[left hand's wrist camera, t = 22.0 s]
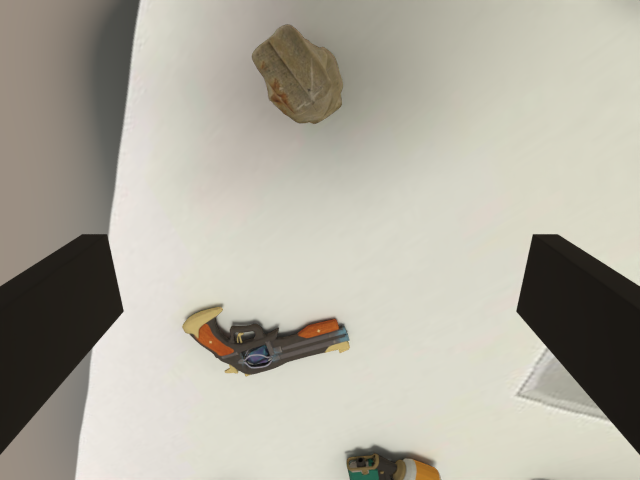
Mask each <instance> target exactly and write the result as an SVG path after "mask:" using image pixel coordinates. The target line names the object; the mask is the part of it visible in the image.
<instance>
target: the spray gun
mask: <svg viewBox="0 0 640 480" xmlns="http://www.w3.org/2000/svg"><path fill="white" fill-rule="evenodd" d="M374 457H375V458H374ZM372 458H374V460H371V459H372ZM367 459H368V461H367ZM350 460H356V462H351V463H350V464H349V461H350ZM347 468H348V472H349V477H350V480H393V479H394V480H441V477H440V474H439V472H438V470H437V469H436V468H435V467H432V466H429V465H427V464H424V463H422V462H419V461H416V460H414V459H406V458H405V459H404V460H398V461H396V462H395V463H394V462H392V461H390V460H387V459H385V458H383V457H381V456H378V454H375V453H374V454H373V455H371V456H358V457H349V458H348V459H347ZM392 474H393V479H392V478H391V476H390V475H392Z"/></svg>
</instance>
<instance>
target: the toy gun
mask: <svg viewBox="0 0 640 480" xmlns="http://www.w3.org/2000/svg"><path fill="white" fill-rule="evenodd" d="M222 310H223V309H222V308H221V307H215V308H211V309H207V310H203V311H200V312H198V313H196V314H194V315H192V316H190V317H189V318H188V319H187V320H186V321H185V323H184V324H183V326H182V327H183V330H184V331H185V333H188V334H190V335H191V336H192V337H193V338H194V339H195V340H196V341H197V342H198V343H199V344H200V345H202V346H203V347H205V348H206V349H207V350H209V351H210V352H212V353H213V354H214V355H215V357H216V358H219V359H220V360H221V361H222V362H225V363H227V364H229V366H230V368H229V369H227V370H225V373H238V371H241V372H243V373H245V376H249V375H252V374H256V373H260V372H264V371H267V370H270V369H274V368H276V367H278V366H280V365H283V364H285V363H287V362H289V361H293V360H297V359H300V358H304V357H308V356H312V355H316V354H320V353H326V352H330V351H334V350H338V349H339V352H340V353H342V352H344V351H346V350H348V349H349V348H350V346H349V342H348V341H349V337H348V333H346V329H345V326H344V327H342V326H338V322H337V320H336V319H332V320H328V321H324V322H320V323H316V324H311V325H308V326H307V327H305V328H304V329H303V330H301V331H300V332H298V333H297V334H294V335H290V336H286V337H277V334H278V331H279V328H277V329H275V330H274V331H272V332H270V333H267V334H264V333H263V330H262V328H261V326H259V325H258V324H252V325H248V326H232V327H231V328H230V334H231V337H230V338H227V337H226V336H225V335H224V334H223V333H222V332H221V331H220V330H219V329H218V327H217V325H216V320H215V317H216V316H217V315H218V314H219V313H221V312H222ZM250 331H254V332H255V337H254V338H251V339H247V340H243V341H242V339H241V335H243V334H244V333H243V332H250ZM236 332H239V333H238V336H239V339H240V341H238V336H237V341H236V340H235V337H234V333H236ZM265 344H266V346H267V347H266V346H265ZM253 348H255V349H254V350H253V351H251V352H250V353H249V354H248V356H247V357H246V355H247V353H248V351H249V350H250V349H253ZM246 350H247V352H246V354H244V351H246ZM270 357H272V358H273V359H272V360H270V361H268V359H269V358H270ZM247 361H248V362H251V363H253V365H252V364H248V362H247ZM258 363H260V364H258Z"/></svg>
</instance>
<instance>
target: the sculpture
mask: <svg viewBox="0 0 640 480" xmlns="http://www.w3.org/2000/svg"><path fill="white" fill-rule="evenodd" d="M252 59H253V62H254V64H255V65H256V67H257V69H258V70H259V72H260V73H261V74H262V76H263V77H264V79H265V82H266V86H267V90H268V97H269V100H270V101H272V103H273V104H274V105H275V106H277V107H278V108H279V109H280V110H281V111H282V112H283V113H284V114H285V115H287V116H289V117H290V118H291V119H293V120H294V121H295V122H297V123H308V122H310V123H312V124H316V123H318V122H320V121H322V120H323V119H325V118H327V117H328V116H330V115H331V114H332V113H334V112H335V111H336V110H338V109H339V108H340V107H341V105H342V100H341V91H342V88H343V82H342V78H341V75H340V72H339V68H338V65H337V62H336V59H335V57H334V55H333V54H332V53H331V52H330V51H328V50H327V49H326V48H324V47H320V48H319V47H317V46H315V45H313V44H312V43H310V42H309V41H308V40H307V39H304V37H303V36H302V35H301V34H300V32H299V31H298V30H296V29H295V28H294V27H293V26H291V25H289V24H288V25H284V26H282V27H280V28H278V29H277V30H276V32H275V33H274V34H273V35H272V36H271V37H270V38H269V39H267V40H266V41H265V42H263V43H262V44H261V45H259V46H258V47H257V48H256V49H255V51H254V52H253V54H252Z"/></svg>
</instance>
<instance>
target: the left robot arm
mask: <svg viewBox="0 0 640 480" xmlns="http://www.w3.org/2000/svg"><path fill="white" fill-rule="evenodd" d="M123 312H124V311H123V306H122V301H121V297H120V292H119V287H118V283H117V278H116V273H115V269H114V264H113V260H112V255H111V250H110V246H109V241H108V236H107V234H82V235H81V236H79V237H77V238H76V239H74V240H73V241H71V242H69V243H68V244H66V245H65V246H63V247H62V248H60V249H58V250H57V251H55V252H54V253H52V254H51V255H49V256H47V257H46V258H44V259H43V260H41V261H40V262H38V263H36V264H35V265H33V266H32V267H30V268H28V269H27V270H25V271H24V272H22V273H21V274H19V275H17V276H16V277H14V278H13V279H11V280H10V281H8V282H6V283H5V284H3V285H2V286H0V454H1V453H2V452H3V451H4V450H5V449H6V447H7V446H8V445H9V444H10V443H11V442H12V440H13V439H14V438H15V437H16V436H17V435H18V434H19V432H20V431H21V430H22V429H23V428H24V427H25V425H26V424H27V423H28V422H29V421H30V420H31V418H32V417H33V416H34V415H35V414H36V413H37V411H38V410H39V409H40V408H41V407H42V406H43V404H44V403H45V402H46V401H47V400H48V399H49V398H50V396H51V395H52V394H53V393H54V392H55V391H56V389H57V388H58V387H59V386H60V385H61V384H62V382H63V381H64V380H65V379H66V378H67V377H68V375H69V374H70V373H71V372H72V371H73V370H74V368H75V367H76V366H77V365H78V364H79V363H80V362H81V360H82V359H83V358H84V357H85V356H86V355H87V353H88V352H89V351H90V350H91V349H92V348H93V346H94V345H95V344H96V343H97V342H98V341H99V339H100V338H101V337H102V336H103V335H104V334H105V333H106V331H107V330H108V329H109V328H110V327H111V326H112V324H113V323H114V322H115V321H116V320H117V319H118V317H119V316H120V315H121V314H122V313H123ZM516 312H517V313H518V314H519V315H520V316H521V317H522V319H523V320H524V321H525V322H526V323H527V324H528V326H529V327H530V328H531V329H532V330H533V331H534V333H535V334H536V335H537V336H538V337H539V338H540V339H541V341H542V342H543V343H544V344H545V345H546V346H547V348H548V349H549V350H550V351H551V352H552V353H553V355H554V356H555V357H556V358H557V359H558V360H559V362H560V363H561V364H562V365H563V366H564V367H565V369H566V370H567V371H568V372H569V373H570V374H571V375H572V377H573V378H574V379H575V380H576V381H577V382H578V384H579V385H580V386H581V387H582V388H583V389H584V391H585V392H586V393H587V394H588V395H589V396H590V398H591V399H592V400H593V401H594V402H595V403H596V405H597V406H598V407H599V408H600V409H601V410H602V411H603V413H604V414H605V415H606V416H607V417H608V418H609V420H610V421H611V422H612V423H613V424H614V425H615V427H616V428H617V429H618V430H619V431H620V432H621V434H622V435H623V436H624V437H625V438H626V439H627V440H628V442H629V443H630V444H631V445H632V446H633V447H634V449H635V450H636V451H637V452H638V453H639V454H640V286H638V285H637V284H635V283H634V282H632V281H630V280H629V279H627V278H626V277H624V276H623V275H621V274H619V273H618V272H616V271H615V270H613V269H612V268H610V267H608V266H607V265H605V264H604V263H602V262H601V261H599V260H597V259H596V258H594V257H593V256H591V255H589V254H588V253H586V252H585V251H583V250H582V249H580V248H578V247H577V246H575V245H574V244H572V243H571V242H569V241H567V240H566V239H564V238H563V237H561V236H560V235H558V234H533V236H532V241H531V246H530V250H529V255H528V260H527V264H526V269H525V273H524V278H523V283H522V287H521V292H520V297H519V301H518V306H517V311H516Z"/></svg>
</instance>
